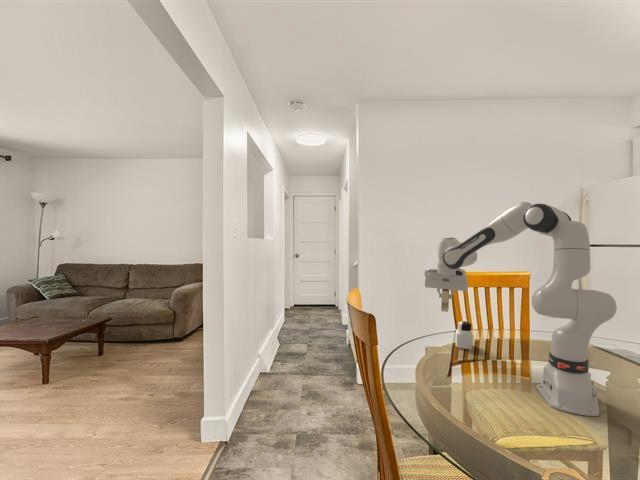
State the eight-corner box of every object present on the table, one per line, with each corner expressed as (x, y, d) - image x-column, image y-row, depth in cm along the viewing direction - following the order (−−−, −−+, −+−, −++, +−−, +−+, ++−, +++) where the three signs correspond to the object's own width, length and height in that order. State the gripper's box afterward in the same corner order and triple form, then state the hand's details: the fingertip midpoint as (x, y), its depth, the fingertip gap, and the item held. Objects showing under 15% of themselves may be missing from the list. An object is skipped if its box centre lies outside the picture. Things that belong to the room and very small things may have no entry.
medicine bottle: (470, 344, 184) (471, 321, 182) (472, 349, 177) (473, 325, 176) (455, 343, 185) (456, 319, 184) (456, 348, 179) (457, 324, 178)
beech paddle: (447, 311, 180) (448, 279, 179) (441, 311, 181) (442, 279, 180) (448, 308, 186) (449, 277, 184) (442, 308, 187) (443, 276, 185)
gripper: (423, 269, 183) (422, 297, 184) (468, 273, 175) (467, 301, 176) (425, 267, 188) (424, 294, 190) (468, 270, 180) (467, 298, 182)
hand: (445, 297), depth 183 cm, fingers closed on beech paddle, 3 cm apart
